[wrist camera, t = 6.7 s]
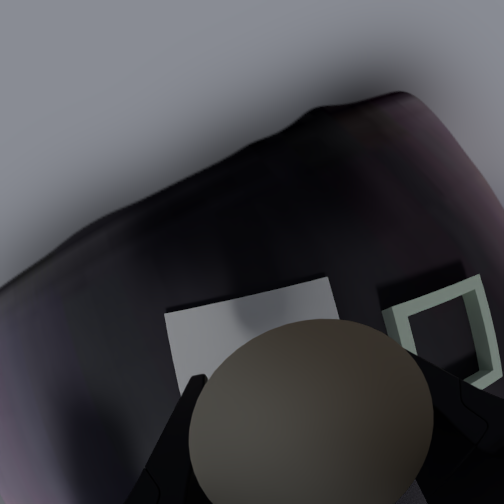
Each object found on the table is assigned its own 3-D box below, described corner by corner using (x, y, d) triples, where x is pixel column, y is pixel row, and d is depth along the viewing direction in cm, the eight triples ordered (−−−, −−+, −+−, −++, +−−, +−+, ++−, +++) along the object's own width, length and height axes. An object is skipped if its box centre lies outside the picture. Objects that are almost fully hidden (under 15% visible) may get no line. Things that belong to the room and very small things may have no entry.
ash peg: (272, 441, 14) (290, 569, 3) (219, 377, 15) (139, 417, 5) (341, 389, 15) (466, 432, 4) (288, 324, 16) (339, 267, 5)
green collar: (406, 420, 19) (418, 424, 17) (381, 311, 22) (391, 306, 20) (488, 376, 19) (502, 376, 17) (466, 280, 22) (479, 273, 20)
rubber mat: (202, 468, 18) (201, 471, 18) (166, 314, 22) (164, 313, 22) (363, 431, 19) (366, 432, 18) (326, 278, 23) (327, 276, 22)
